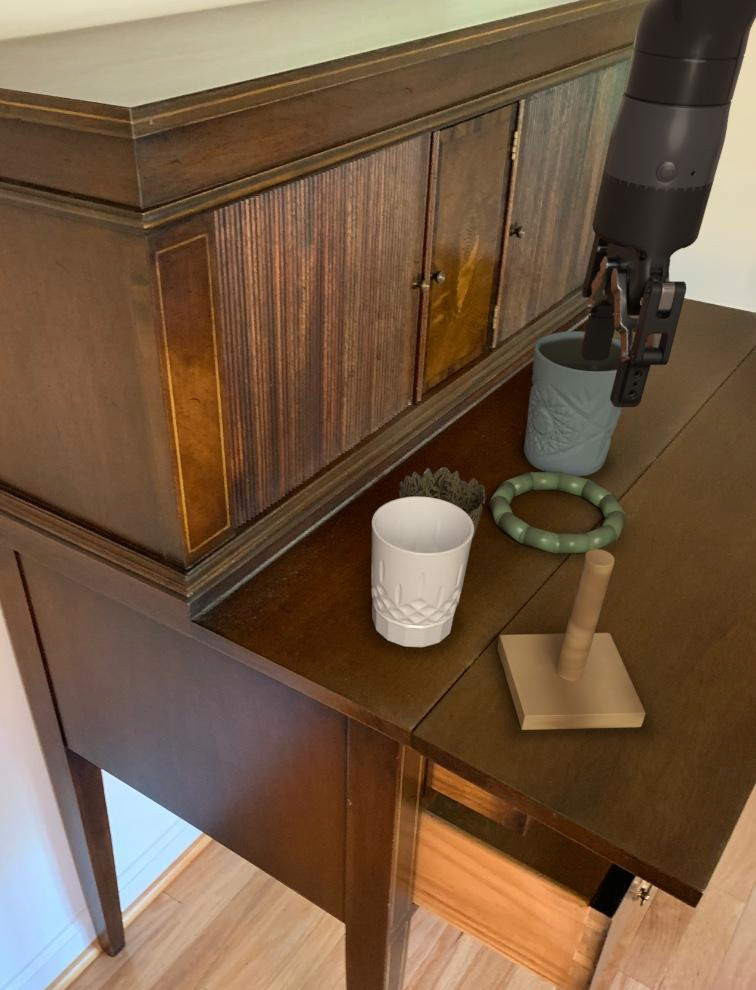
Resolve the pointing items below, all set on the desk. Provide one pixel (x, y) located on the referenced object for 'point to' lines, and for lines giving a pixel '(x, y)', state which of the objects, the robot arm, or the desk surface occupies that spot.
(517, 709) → the post
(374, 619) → the white cup
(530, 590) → the desk surface
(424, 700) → the desk surface
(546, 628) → the desk surface
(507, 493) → the ring
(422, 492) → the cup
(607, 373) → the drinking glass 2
